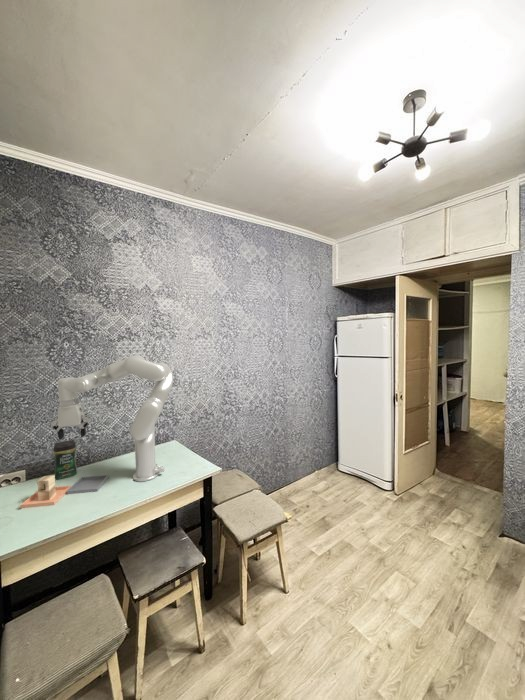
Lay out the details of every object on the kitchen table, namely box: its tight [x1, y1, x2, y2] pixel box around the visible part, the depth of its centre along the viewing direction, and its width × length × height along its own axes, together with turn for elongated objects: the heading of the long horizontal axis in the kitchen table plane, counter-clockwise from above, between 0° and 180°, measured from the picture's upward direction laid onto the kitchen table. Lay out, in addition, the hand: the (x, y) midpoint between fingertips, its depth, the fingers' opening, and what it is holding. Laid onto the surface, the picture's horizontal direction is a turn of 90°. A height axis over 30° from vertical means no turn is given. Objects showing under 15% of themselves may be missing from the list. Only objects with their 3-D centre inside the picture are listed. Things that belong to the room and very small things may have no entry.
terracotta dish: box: [19, 485, 72, 510], centre depth 124 cm, size 13×13×2 cm
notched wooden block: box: [37, 474, 56, 501], centre depth 124 cm, size 4×5×9 cm
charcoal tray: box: [66, 474, 110, 495], centre depth 134 cm, size 13×13×2 cm
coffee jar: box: [53, 439, 78, 481], centre depth 144 cm, size 10×8×19 cm
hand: (72, 437), depth 135 cm, fingers open, 9 cm apart
